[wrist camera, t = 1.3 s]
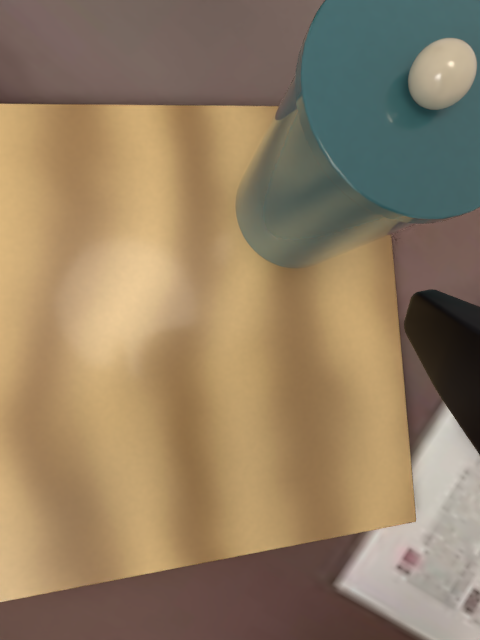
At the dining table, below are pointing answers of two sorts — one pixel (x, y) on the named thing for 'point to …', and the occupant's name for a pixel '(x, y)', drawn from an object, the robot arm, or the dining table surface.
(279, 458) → the mat
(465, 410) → the robot arm
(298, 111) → the pot
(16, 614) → the dining table surface
